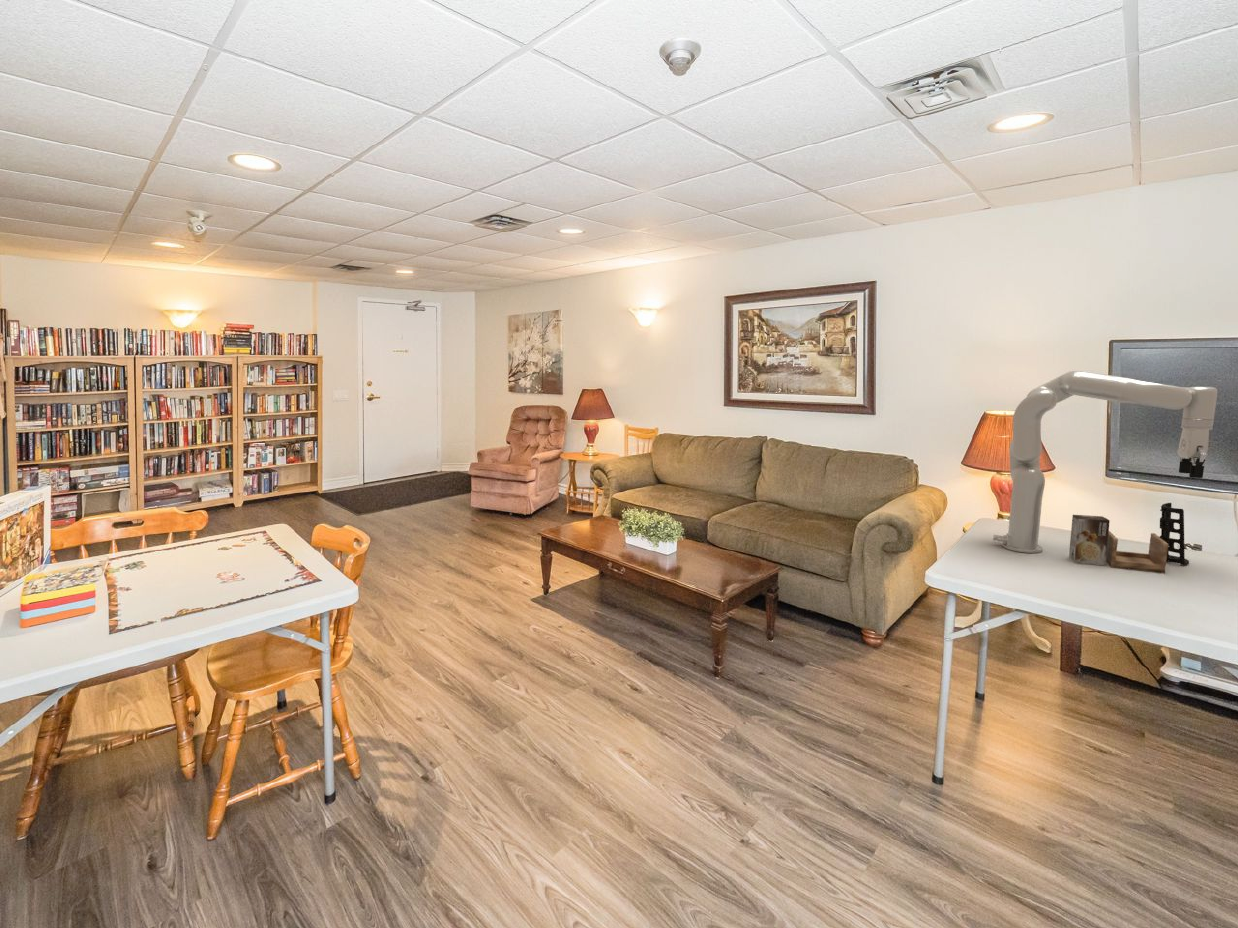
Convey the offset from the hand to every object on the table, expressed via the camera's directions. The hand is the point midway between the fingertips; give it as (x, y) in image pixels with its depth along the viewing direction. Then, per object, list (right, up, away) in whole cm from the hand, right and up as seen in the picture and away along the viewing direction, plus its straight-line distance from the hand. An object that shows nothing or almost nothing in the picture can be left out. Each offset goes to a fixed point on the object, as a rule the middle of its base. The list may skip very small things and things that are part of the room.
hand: (1190, 475), depth 201 cm
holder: (+1, -30, +9) cm, 32 cm away
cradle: (-15, -31, +6) cm, 35 cm away
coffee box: (-28, -31, +9) cm, 42 cm away
